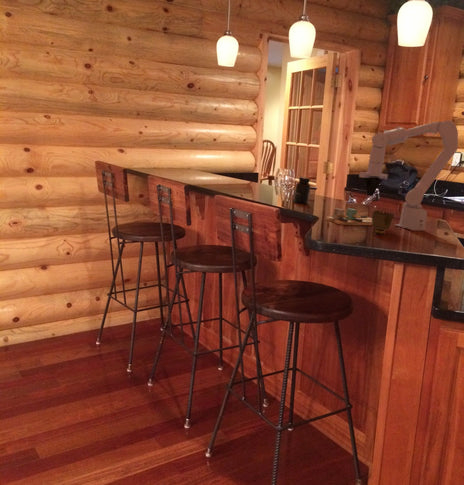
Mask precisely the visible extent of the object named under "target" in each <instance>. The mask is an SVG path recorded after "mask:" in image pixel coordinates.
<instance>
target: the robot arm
mask: <svg viewBox="0 0 464 485" xmlns="http://www.w3.org/2000/svg"><path fill="white" fill-rule="evenodd" d="M425 134H434V135H437V134H439V135H440V137H441V140H442V143H443V149H442V150H441V151H440V153H439V154H438V155H437V157H436V158H435V159H434V161H433V162H432V163H431V165H430V166H429V168H428V169H427V170H426V172H424V174H423V176H422V177H421V178H420V179H419V181H418V182H417V184H416V185H415V187H414V188H412V189H410V190H409V191H408V192H407V193H406V195H405V198H404V200H405V202H404V203H403V205H402V208H401V209H402V210H401V216H400V221H399V223H396V224H394V226H396V227H399V228H403V229H406V228H407V229H406V230H409V229H410V231H424V230H423V229H425V228H426V223H427V218H428V211H427V210H426V209H423V205H421V203H422V201H423V198H424V195H425V194H426V192H427V191H428V189H429V188H430V187H431V185H433V183H434V181H435V180H436V179H437V177H438V176H439V175H440V173H441V172H442V171H443V169H444V168H445V167H446V165H447V164H448V163H449V161H451V159H452V157H453V156H454V155H455V154H456V152H457V150H458V147H459V146H458V144H459V142H458V141H459V139H458V138H459V130H458V127H457V125H456V123H455V122H454V121H452V120H444V121H436V122H429V123H426V124H422V125H418V126H415V127H411V128H408V129H407V128H405V127H401V126H396V127H395V128H394V129H390V130H387V129H385V130H383V132H382V131H381V132H379V131H378V132H377V133H375V134H374V135H373V137H372V138H371V143H372V144H371V145H372V146H371V150H370V154H369V160H368V164H367V171H365V172H363V171H362V172H361V171H360V172H359V175H358V178H364V179H363V180H364V183H365V186H366V193H367V194H366V195H367V196H370V197H373V196H374V195H375V192H376V190H377V189H378V187H379V186H380V184H381V183H382V181H383V180H387V179H388V176H389V174H386V173H383V172H382V171H383V168H384V167H383V166H384V162H385V156H386V148H387V145H388V146H392V145H396V144H400V143H401V144H402V143H404V142H406V141H407V140H408V138H412V137H415V136H420V135H425ZM382 179H383V180H382Z"/></svg>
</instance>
